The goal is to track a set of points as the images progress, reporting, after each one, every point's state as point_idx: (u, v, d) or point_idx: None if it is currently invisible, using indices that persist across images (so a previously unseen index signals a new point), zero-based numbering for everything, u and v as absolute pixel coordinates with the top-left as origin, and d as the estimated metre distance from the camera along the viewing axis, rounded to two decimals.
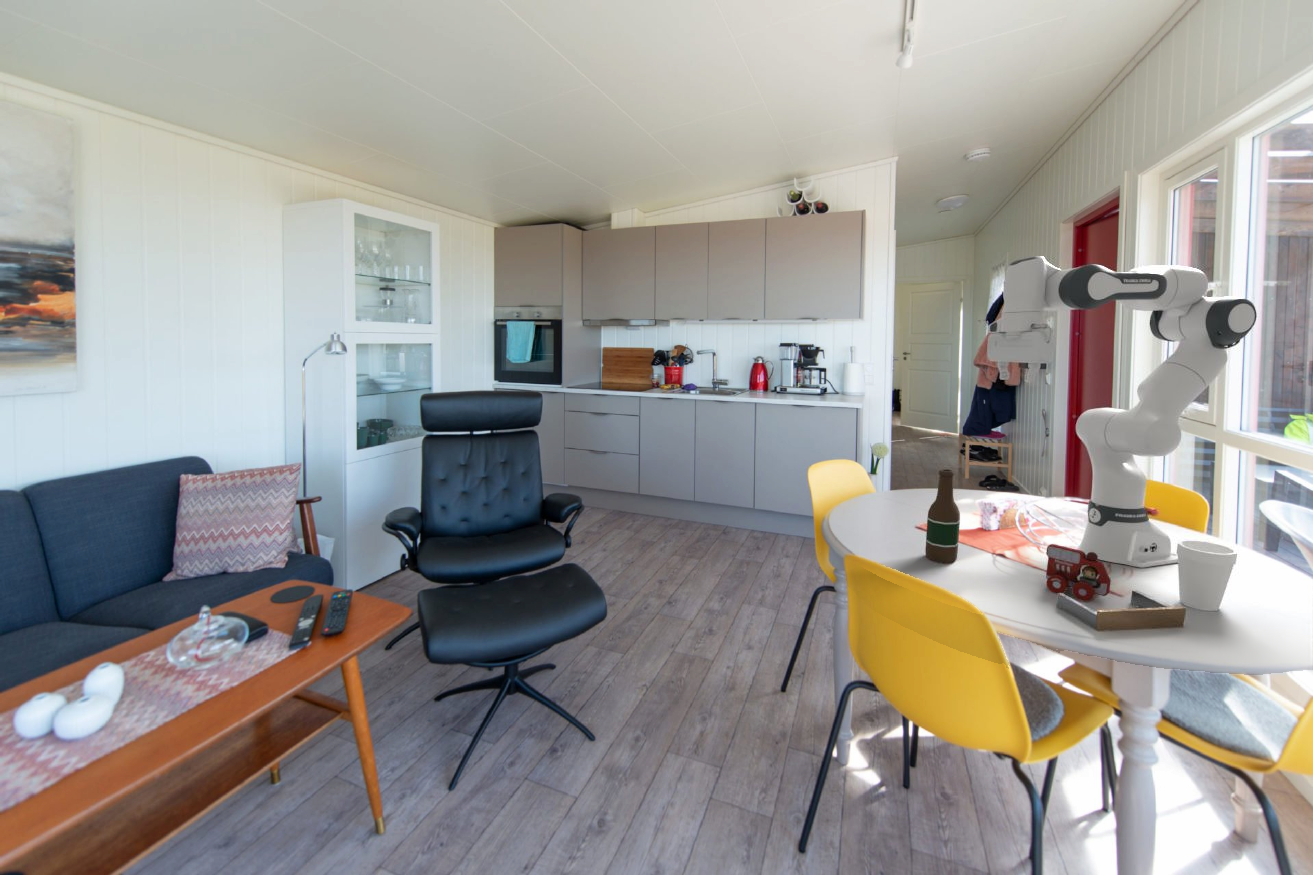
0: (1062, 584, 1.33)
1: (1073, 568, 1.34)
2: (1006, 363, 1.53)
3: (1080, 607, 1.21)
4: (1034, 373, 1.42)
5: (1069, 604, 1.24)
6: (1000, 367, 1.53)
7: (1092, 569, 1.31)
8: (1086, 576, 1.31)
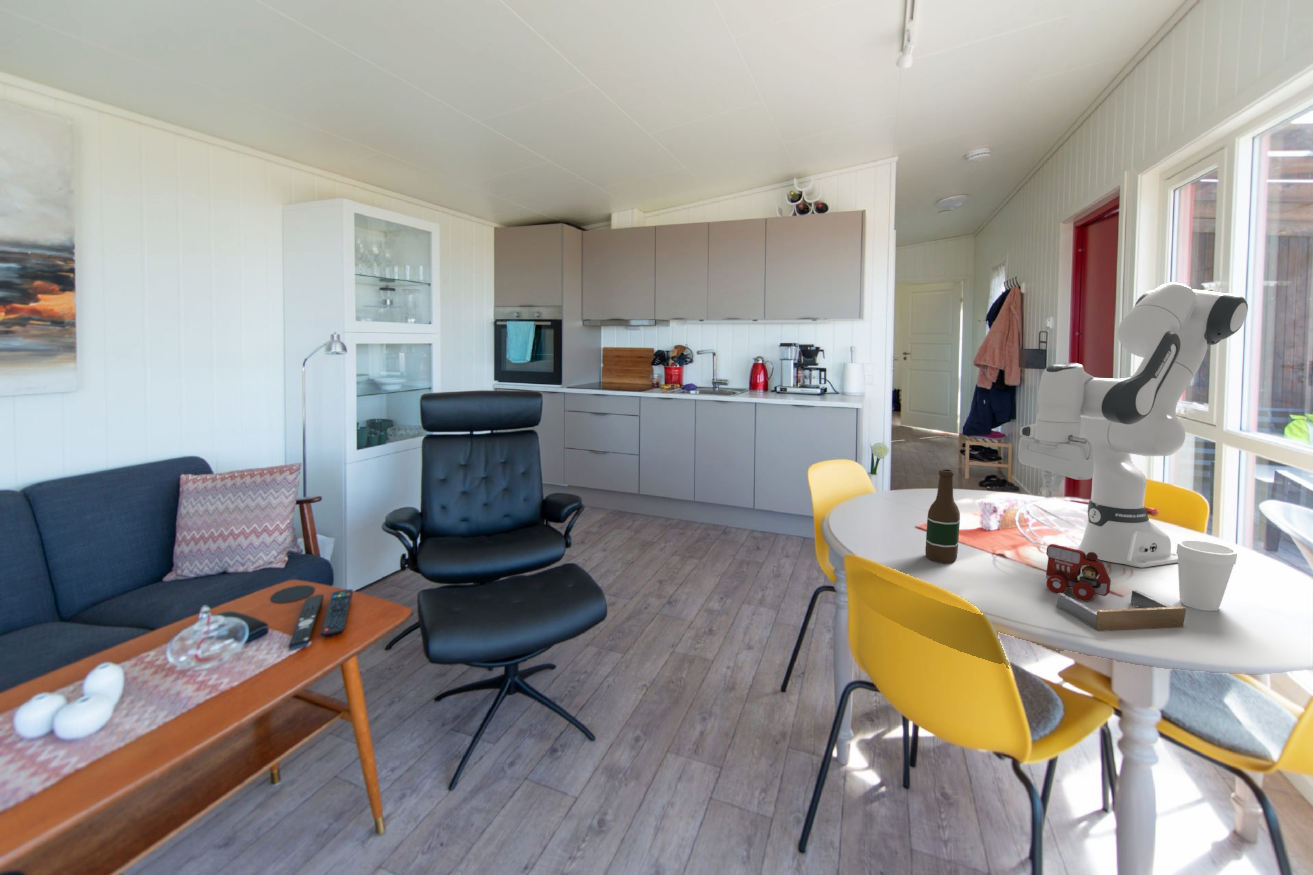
0: (1062, 584, 1.33)
1: (1073, 568, 1.34)
2: (1051, 472, 1.41)
3: (1080, 607, 1.21)
4: (1058, 483, 1.39)
5: (1069, 604, 1.24)
6: (1044, 476, 1.42)
7: (1092, 569, 1.31)
8: (1086, 576, 1.31)
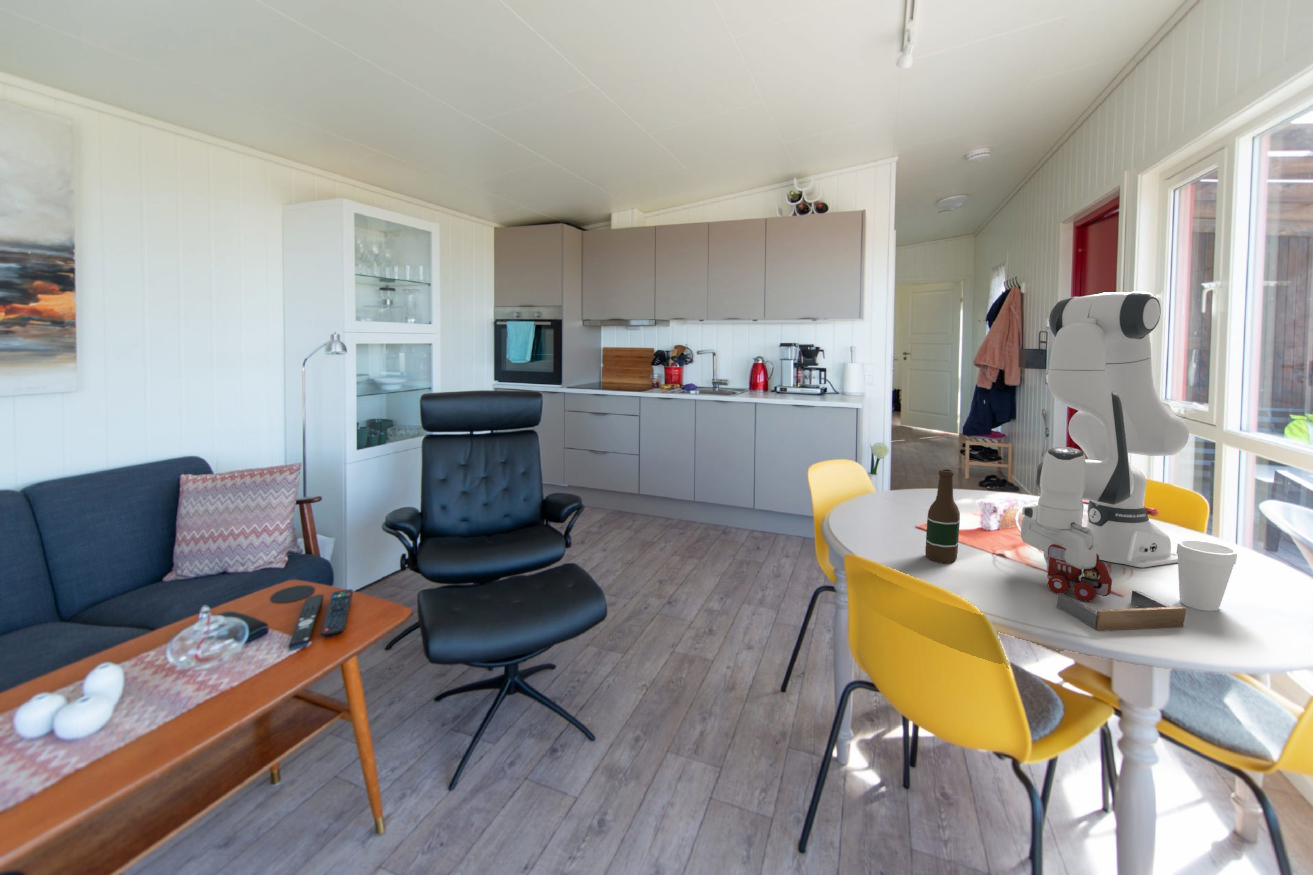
0: (1063, 584, 1.33)
1: (1074, 568, 1.33)
2: None
3: (1080, 607, 1.21)
4: None
5: (1069, 604, 1.24)
6: (1047, 558, 1.42)
7: (1093, 570, 1.30)
8: (1087, 576, 1.31)
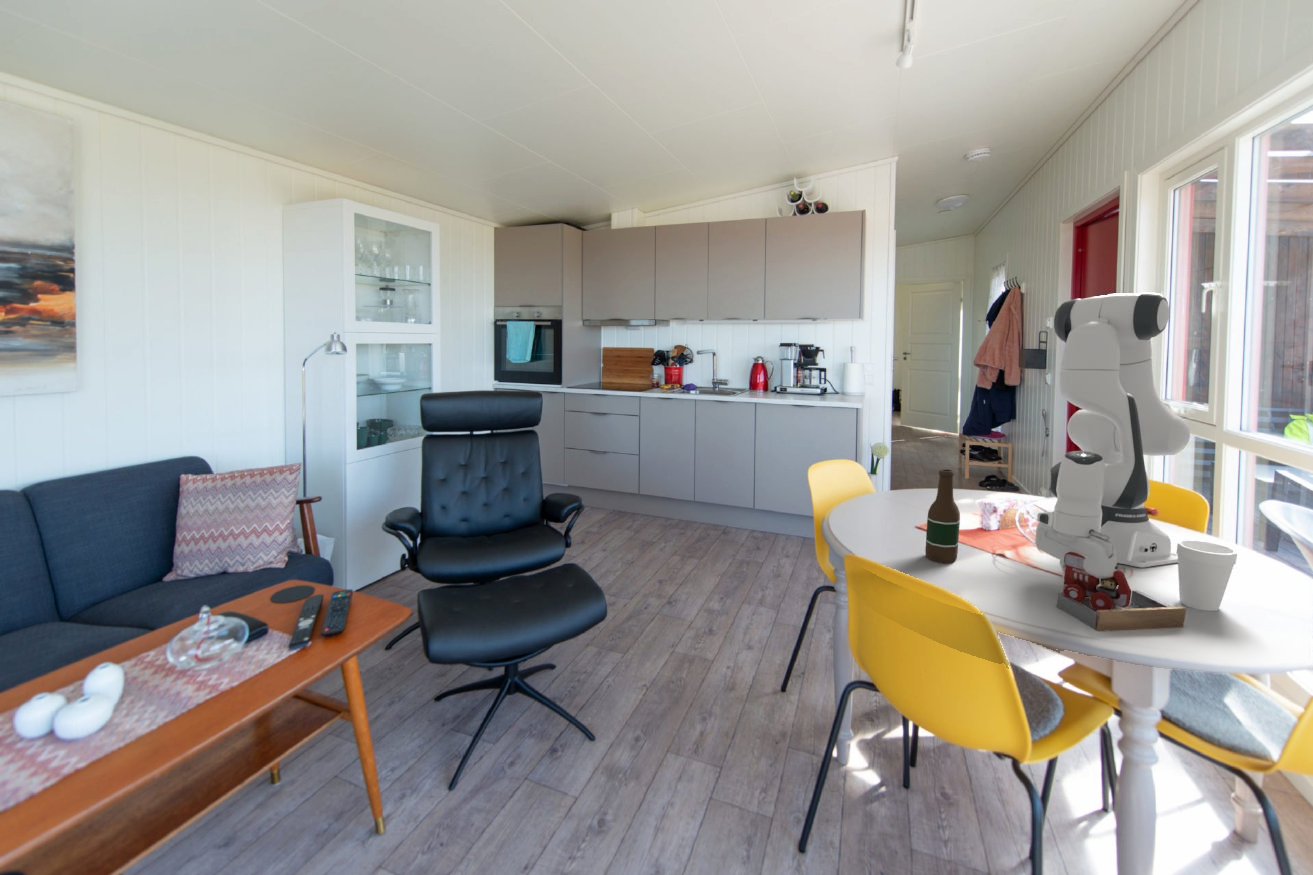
0: (1079, 594, 1.28)
1: (1091, 577, 1.28)
2: None
3: (1080, 607, 1.21)
4: None
5: (1069, 604, 1.24)
6: (1063, 566, 1.36)
7: (1111, 579, 1.25)
8: (1105, 586, 1.26)
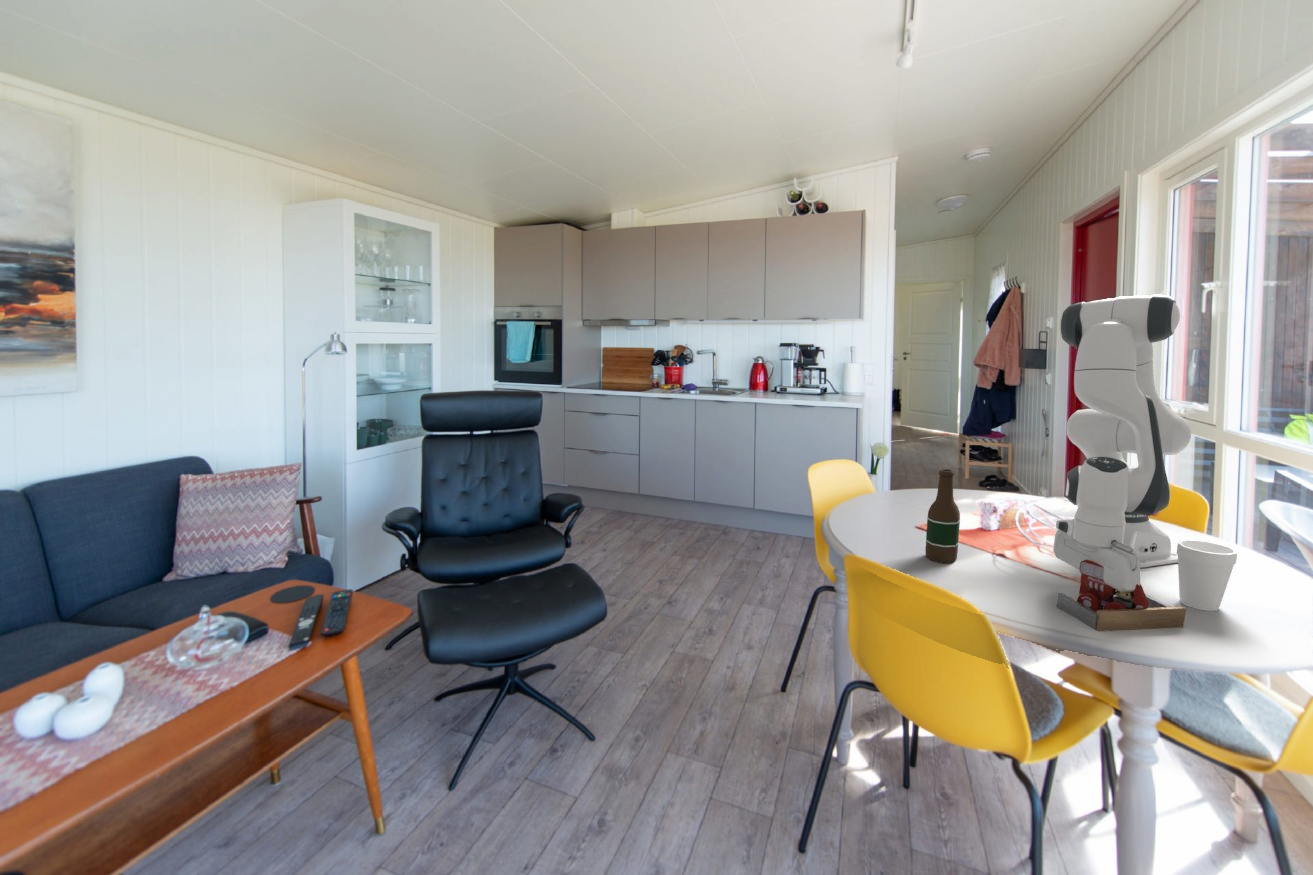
0: (1093, 603, 1.23)
1: (1107, 587, 1.23)
2: None
3: (1080, 607, 1.21)
4: None
5: (1069, 604, 1.24)
6: None
7: None
8: (1120, 596, 1.21)
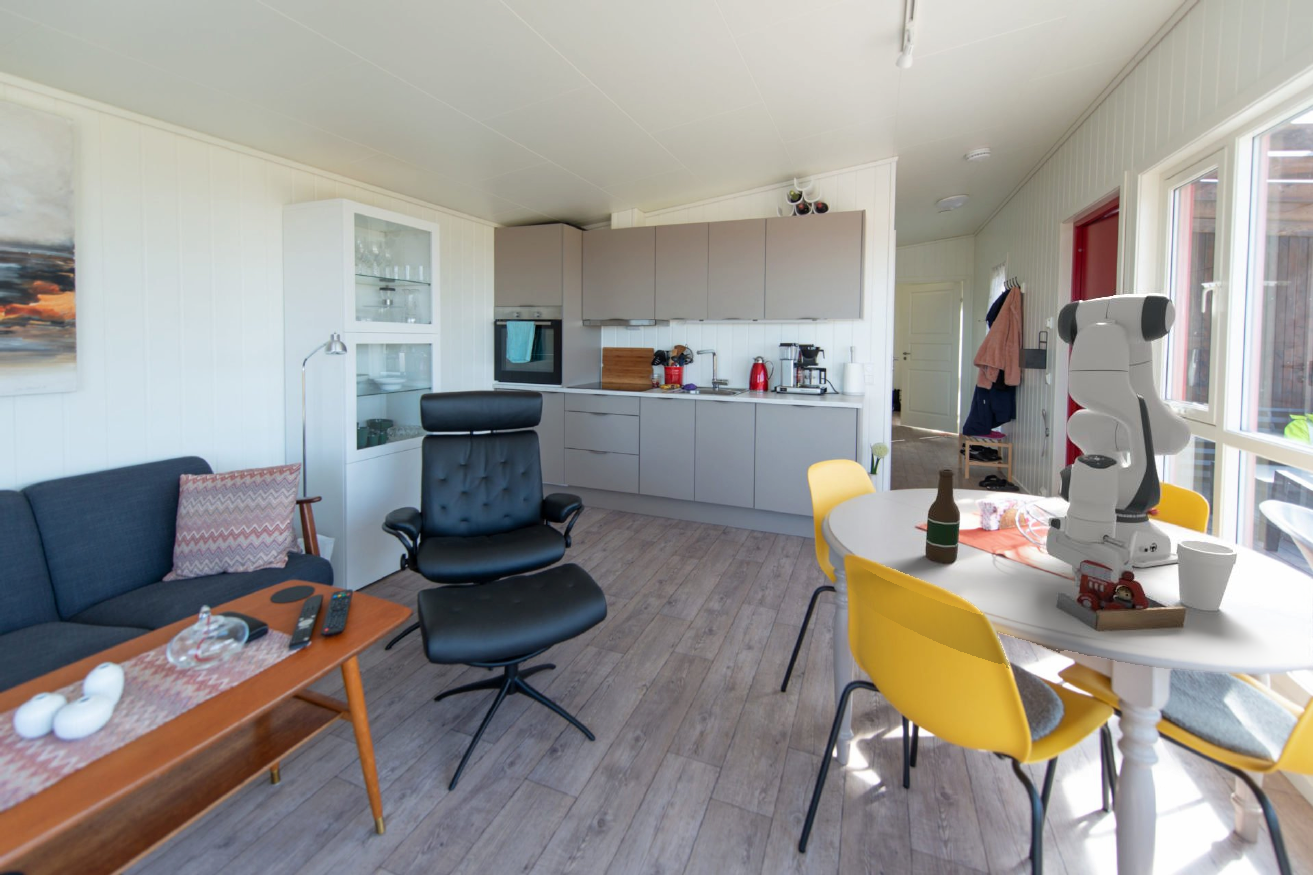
0: (1093, 603, 1.23)
1: (1107, 587, 1.23)
2: None
3: (1080, 607, 1.21)
4: None
5: (1069, 604, 1.24)
6: (1076, 572, 1.33)
7: (1126, 590, 1.20)
8: (1120, 597, 1.21)
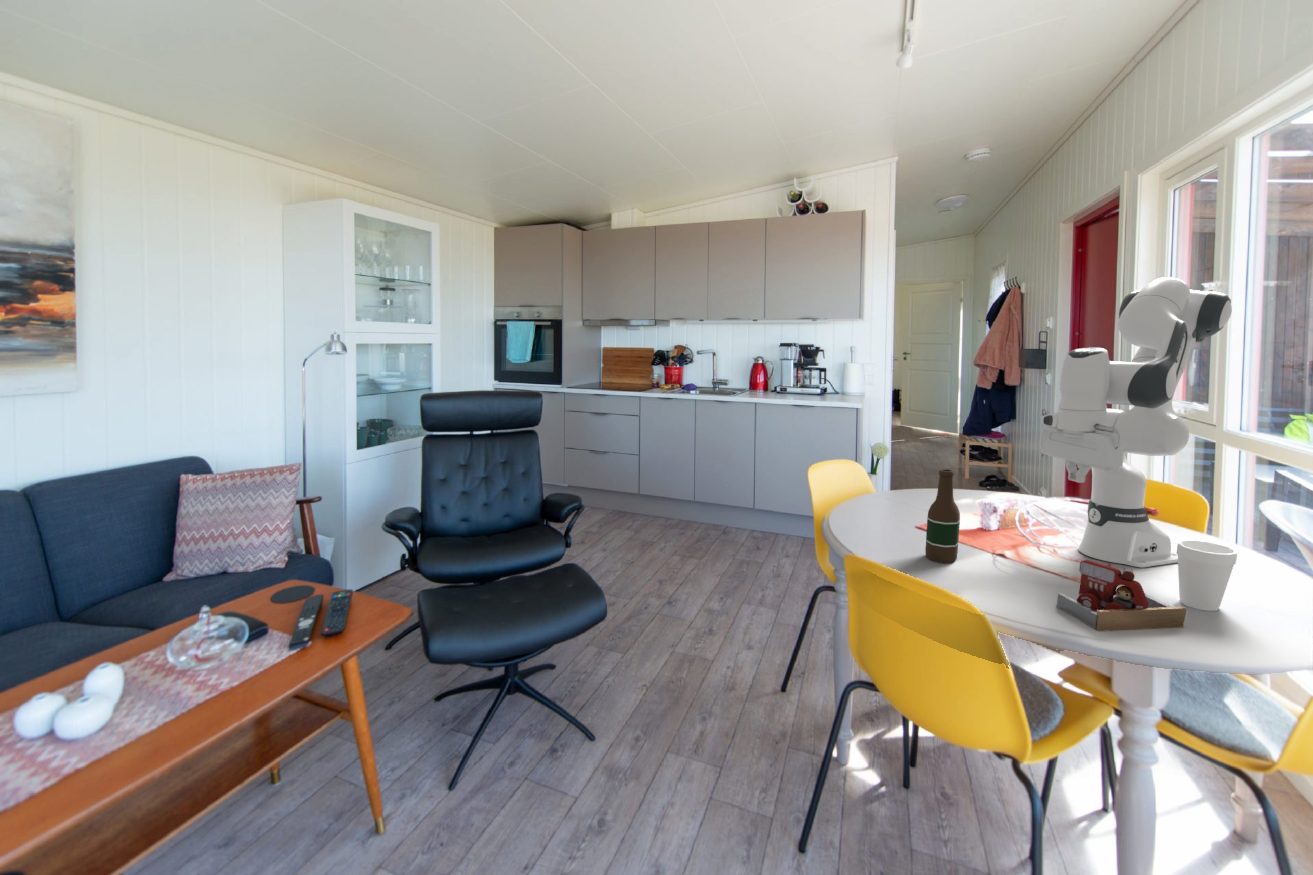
0: (1093, 603, 1.23)
1: (1107, 587, 1.23)
2: None
3: (1080, 607, 1.21)
4: (1084, 473, 1.33)
5: (1069, 604, 1.24)
6: (1068, 466, 1.36)
7: (1126, 590, 1.20)
8: (1120, 597, 1.21)
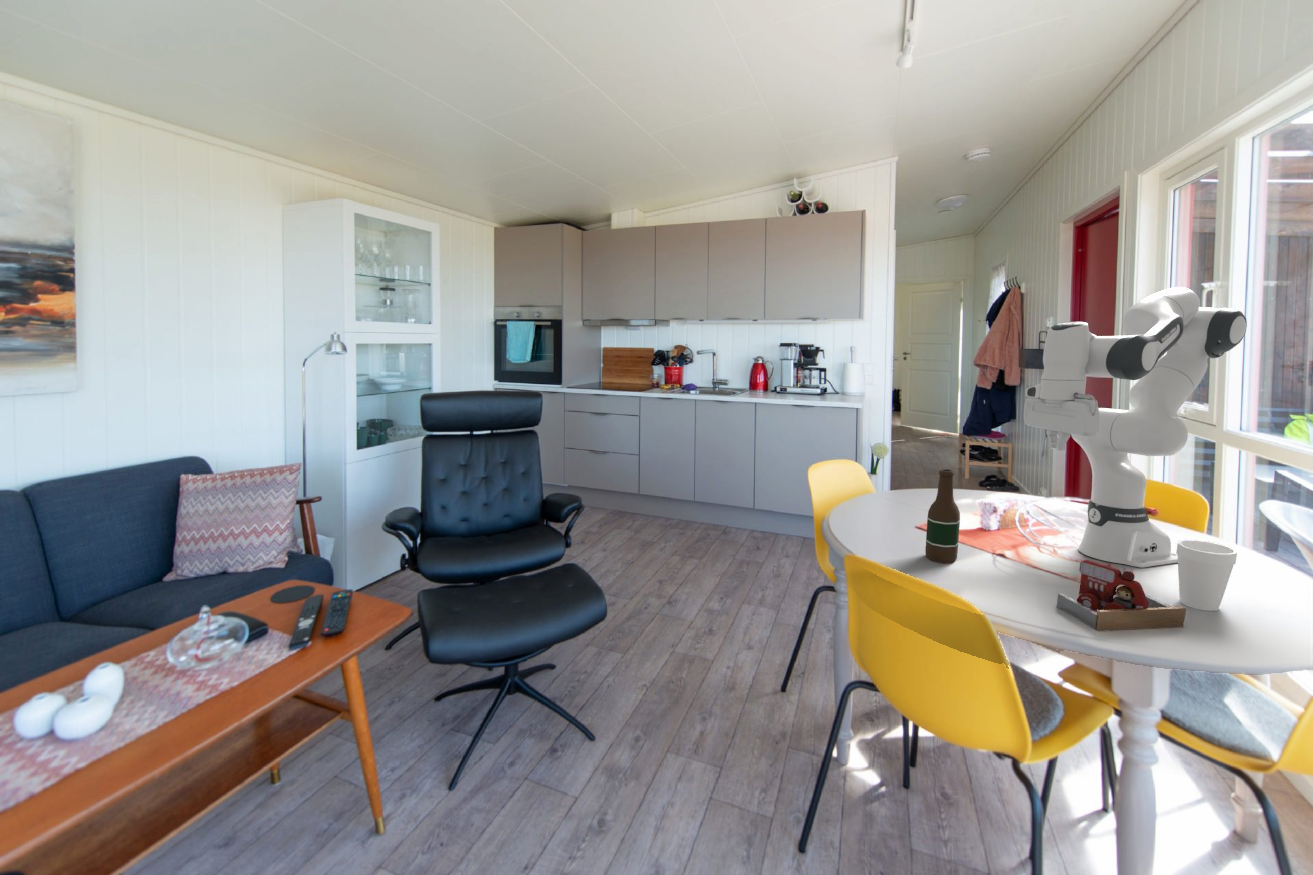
0: (1093, 603, 1.23)
1: (1107, 587, 1.23)
2: (1056, 431, 1.42)
3: (1080, 607, 1.21)
4: (1064, 441, 1.40)
5: (1069, 604, 1.24)
6: (1050, 435, 1.43)
7: (1126, 590, 1.20)
8: (1120, 597, 1.21)
